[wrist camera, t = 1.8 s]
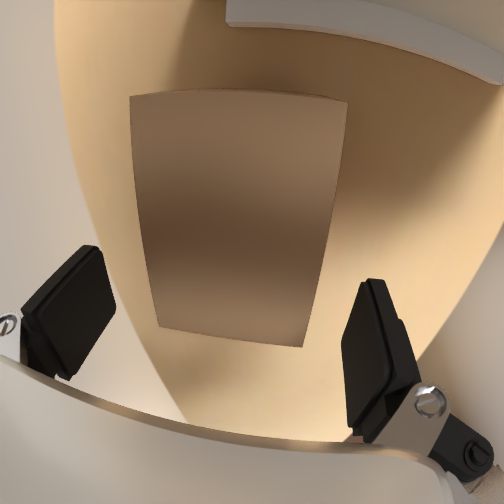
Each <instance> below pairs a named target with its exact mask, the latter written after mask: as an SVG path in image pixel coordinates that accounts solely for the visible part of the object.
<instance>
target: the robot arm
mask: <svg viewBox="0 0 504 504" xmlns="http://www.w3.org/2000/svg"><path fill="white" fill-rule="evenodd" d="M21 311H22V313H23V315H24V316H23V318H22V319H21V317H20V316H19V314H17V313H16V312H6V313H4V314H2V315H0V504H504V471H503V470H502V469H501V467H500V466H499V465H498V464H497V465H496V466H494V465H493V461H494V452H493V448H492V446H491V444H490V442H488V441H487V440H486V438H484V437H483V436H481V435H480V434H479V433H477V432H476V431H474V430H473V429H472V428H470V427H469V426H467V425H466V424H465V423H463V422H462V421H460V420H459V419H458V418H456V417H455V416H453V415H452V414H451V413H450V410H451V400H450V398H449V395H448V394H447V392H446V391H445V390H444V389H443V388H442V387H441V386H439V385H437V384H435V383H433V382H427V381H426V382H422V381H421V377H420V374H419V370H418V366H417V363H416V360H415V356H414V353H413V350H412V347H411V344H410V341H409V337H408V334H407V331H406V328H405V326H404V323H403V321H402V320H401V319H398V316H397V313H396V311H395V308H394V305H393V302H392V299H391V296H390V294H389V291H388V288H387V286H386V283H385V281H384V280H382V279H372V278H368V279H367V280H366V282H361V284H360V286H359V289H358V293H357V296H356V299H355V302H354V305H353V308H352V311H351V314H350V317H349V320H348V322H347V325H346V328H345V331H344V334H343V336H342V340H341V351H342V361H343V371H344V382H345V395H346V409H347V424H348V427H349V428H352V429H353V436H363V442H365V443H344V442H318V441H301V440H289V439H279V438H269V437H260V436H252V435H244V434H238V433H231V432H225V431H220V430H214V429H209V428H204V427H199V426H194V425H190V424H185V423H181V422H176V421H173V420H169V419H164V418H161V417H157V416H154V415H150V414H147V413H143V412H140V411H137V410H133V409H130V408H127V407H124V406H121V405H118V404H115V403H112V402H109V401H106V400H104V399H101V398H98V397H95V396H93V395H90V394H88V393H85V392H83V391H80V390H78V389H75V388H73V387H70V386H68V385H66V384H63V383H61V382H59V381H57V380H55V375H56V373H57V375H58V376H59V377H60V378H62V379H65V380H67V381H70V379H71V378H72V376H73V375H75V374H76V373H77V372H78V370H79V369H80V367H81V365H82V364H83V362H84V361H85V359H86V357H87V356H88V354H89V352H90V351H91V349H92V348H93V346H94V345H95V343H96V341H97V340H98V338H99V337H100V335H101V334H102V332H103V331H104V329H105V327H106V326H107V324H108V323H109V321H110V320H111V318H112V317H113V315H114V314H115V311H116V303H115V300H114V296H113V293H112V289H111V285H110V282H109V278H108V274H107V270H106V266H105V262H104V257H103V254H102V252H101V251H100V250H99V248H98V247H97V246H91V245H83V246H82V247H81V248H79V250H77V251H76V252H75V253H74V254H73V255H72V256H71V257H70V258H69V259H68V260H67V261H66V262H65V263H64V264H63V265H62V266H61V267H60V268H59V269H58V270H57V271H56V272H55V273H54V274H53V275H52V276H51V277H50V278H49V279H48V280H47V281H46V282H45V283H44V284H43V285H42V286H41V287H40V288H39V289H38V290H37V291H36V293H34V295H33V296H32V297H31V298H30V299H29V300H28V301H27V302H26V303H25V304H24V306H23V307H22V308H21Z"/></svg>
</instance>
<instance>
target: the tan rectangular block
mask: <svg viewBox="0 0 504 504" xmlns="http://www.w3.org/2000/svg"><path fill="white" fill-rule="evenodd" d="M347 108H348V103H346V102H343V101H339V100H336V99H332V98H329V97H325V96H320V95H313V94H304V93H295V92H285V91H273V90H257V89H224V88H209V89H188V90H177V91H167V92H158V93H150V94H143V95H136V96H130V125H131V143H132V157H133V169H134V179H135V189H136V198H137V206H138V214H139V221H140V228H141V235H142V242H143V248H144V254H145V260H146V266H147V271H148V276H149V282H150V287H151V292H152V297H153V301H154V306H155V311H156V315H157V320H158V324H159V326H160V327H165V328H170V329H176V330H181V331H186V332H192V333H197V334H203V335H209V336H215V337H222V338H228V339H235V340H242V341H249V342H257V343H265V344H274V345H282V346H292V347H302V346H303V342H304V338H305V335H306V331H307V327H308V323H309V319H310V315H311V311H312V306H313V302H314V298H315V294H316V289H317V285H318V281H319V276H320V271H321V267H322V262H323V257H324V252H325V248H326V243H327V238H328V232H329V227H330V222H331V216H332V211H333V205H334V199H335V194H336V188H337V181H338V175H339V169H340V162H341V155H342V148H343V140H344V133H345V125H346V116H347Z"/></svg>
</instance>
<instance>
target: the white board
mask: <svg viewBox="0 0 504 504" xmlns="http://www.w3.org/2000/svg"><path fill="white" fill-rule="evenodd" d="M225 22H226V23H227V24H228V25H229V26H230V27H266V28H284V29H296V30H306V31H315V32H322V33H329V34H336V35H342V36H347V37H352V38H357V39H362V40H367V41H371V42H376V43H380V44H384V45H388V46H392V47H395V48H399V49H402V50H406V51H409V52H412V53H415V54H418V55H422V56H425V57H427V58H430V59H433V60H436V61H439V62H441V63H444V64H447V65H449V66H452V67H454V68H457V69H459V70H461V71H464V72H466V73H468V74H470V75H473V76H475V77H477V78H479V79H481V80H483V81H485V82H487V83H489V84H495V85H502V86H503V82H504V0H227V1H226V17H225Z"/></svg>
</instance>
